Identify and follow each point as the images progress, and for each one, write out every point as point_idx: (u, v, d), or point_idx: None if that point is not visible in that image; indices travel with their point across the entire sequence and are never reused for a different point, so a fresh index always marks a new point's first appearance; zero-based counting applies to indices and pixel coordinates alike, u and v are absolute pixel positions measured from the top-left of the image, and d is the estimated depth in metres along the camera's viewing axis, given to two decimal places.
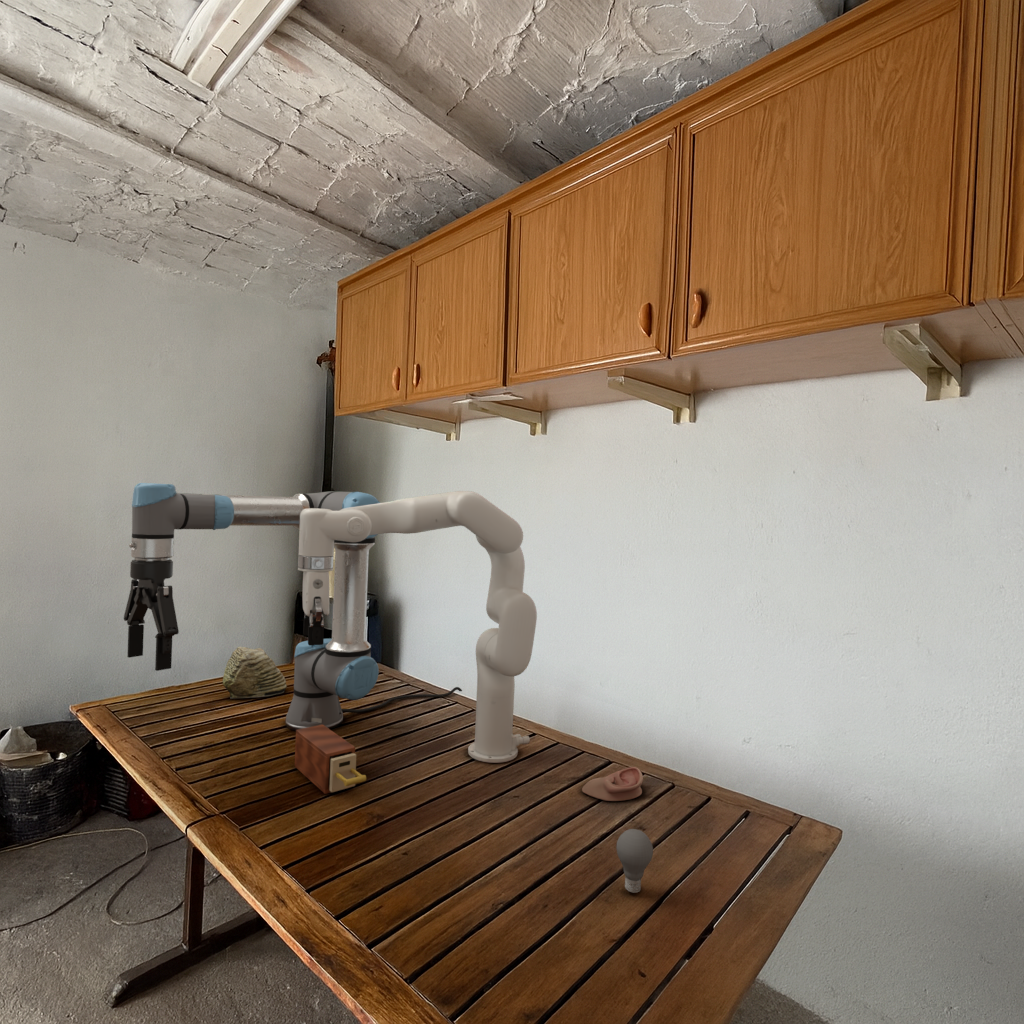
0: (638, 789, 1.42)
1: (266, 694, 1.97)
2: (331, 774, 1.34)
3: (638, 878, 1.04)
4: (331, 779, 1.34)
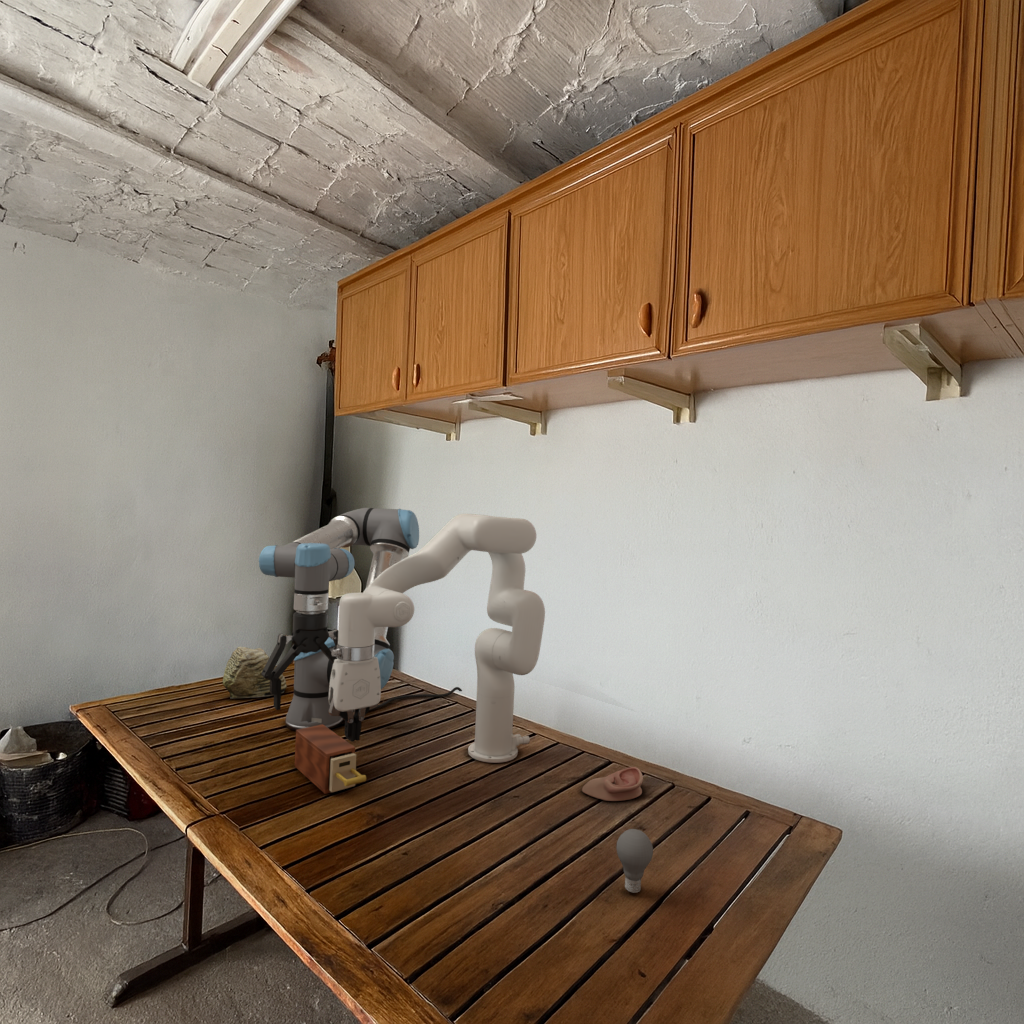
0: (638, 789, 1.42)
1: (266, 694, 1.97)
2: (331, 774, 1.34)
3: (638, 878, 1.04)
4: (331, 779, 1.34)
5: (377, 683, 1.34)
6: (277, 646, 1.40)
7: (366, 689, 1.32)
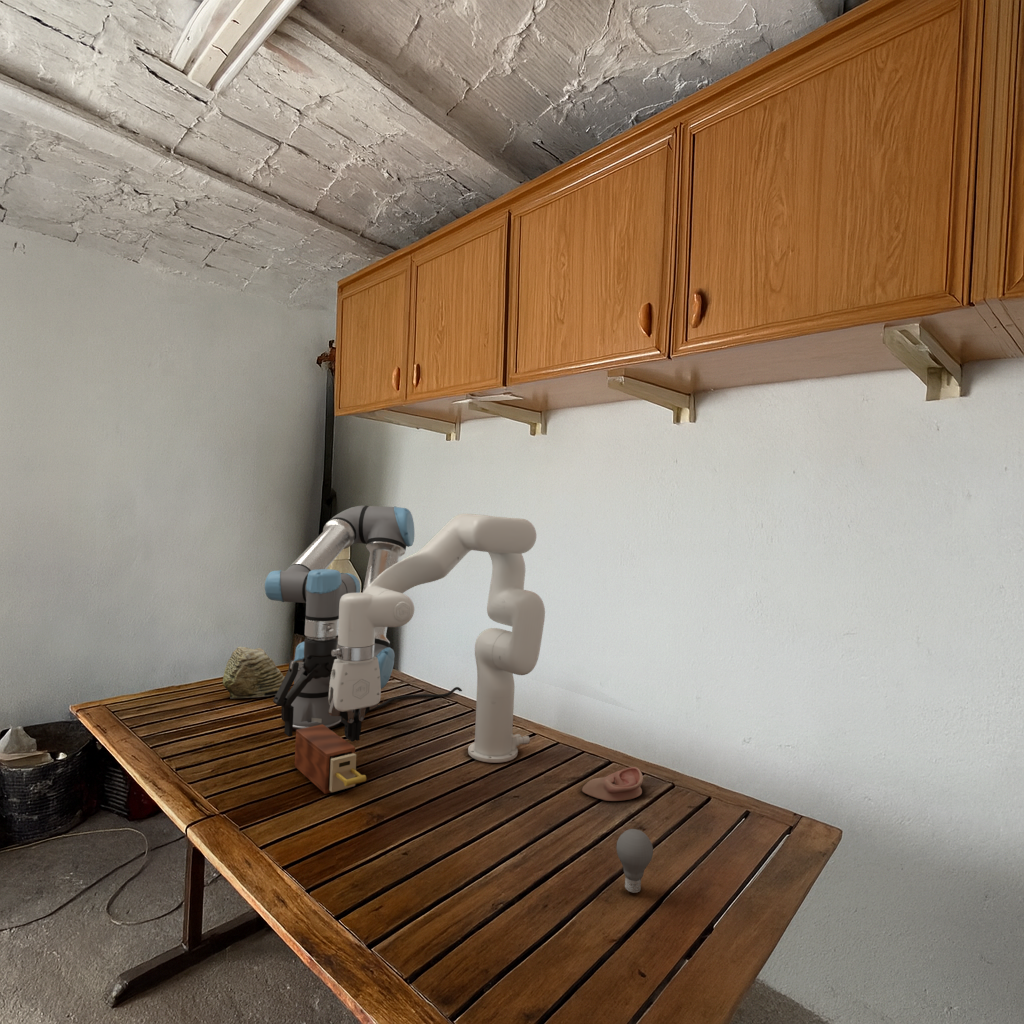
0: (638, 789, 1.42)
1: (266, 694, 1.97)
2: (331, 774, 1.34)
3: (638, 878, 1.04)
4: (331, 779, 1.34)
5: (377, 683, 1.34)
6: (289, 673, 1.41)
7: (366, 689, 1.32)
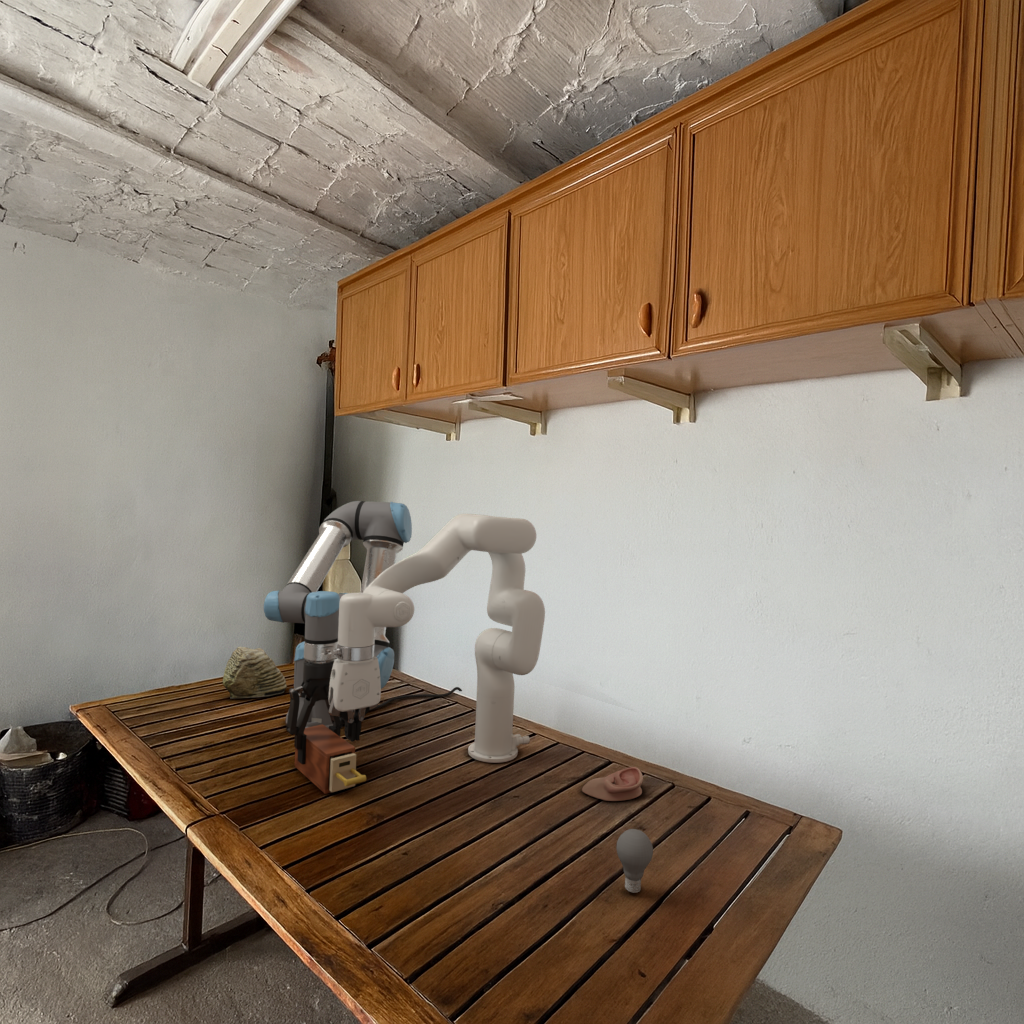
0: (638, 789, 1.42)
1: (266, 694, 1.97)
2: (331, 774, 1.34)
3: (638, 878, 1.04)
4: (331, 779, 1.34)
5: (377, 683, 1.34)
6: (292, 701, 1.42)
7: (366, 689, 1.32)
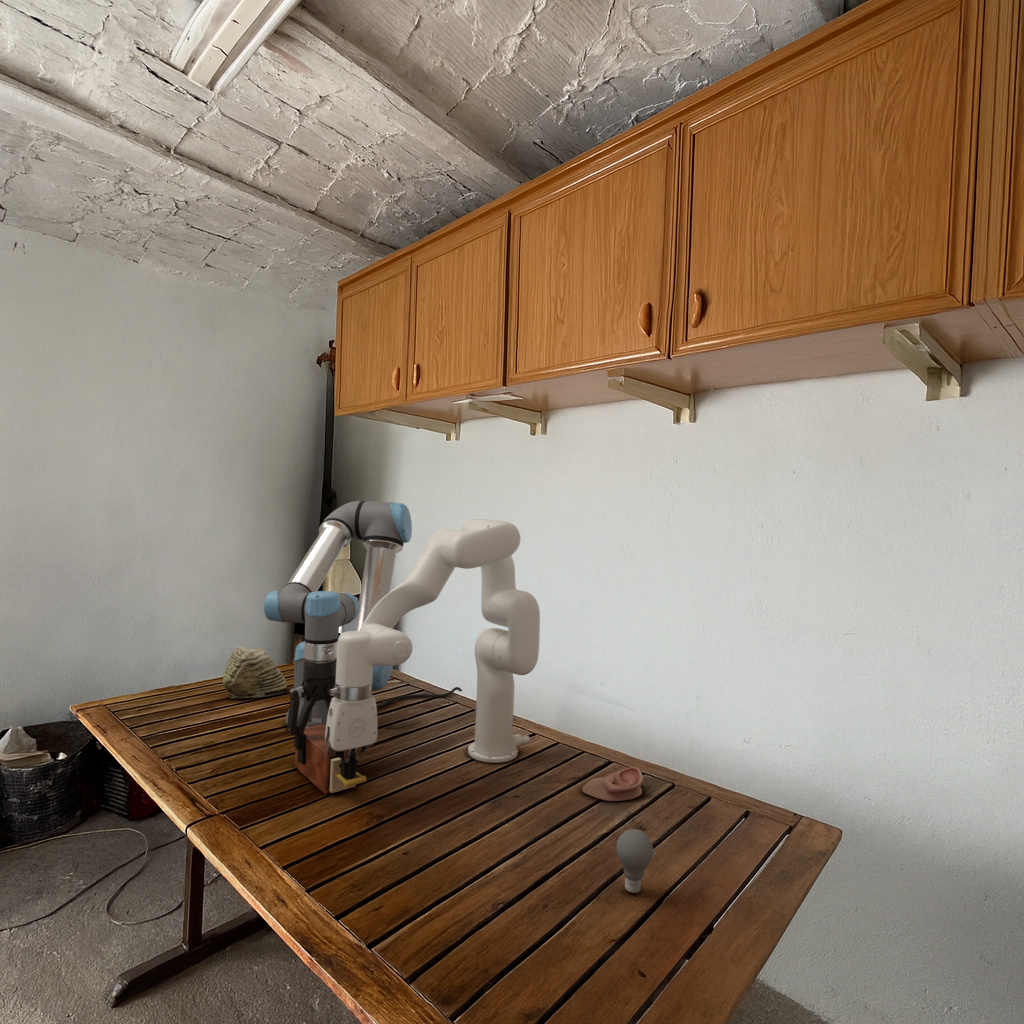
0: (638, 789, 1.42)
1: (266, 694, 1.97)
2: (331, 775, 1.34)
3: (638, 878, 1.04)
4: (331, 780, 1.34)
5: (374, 722, 1.33)
6: (292, 701, 1.42)
7: (363, 728, 1.32)
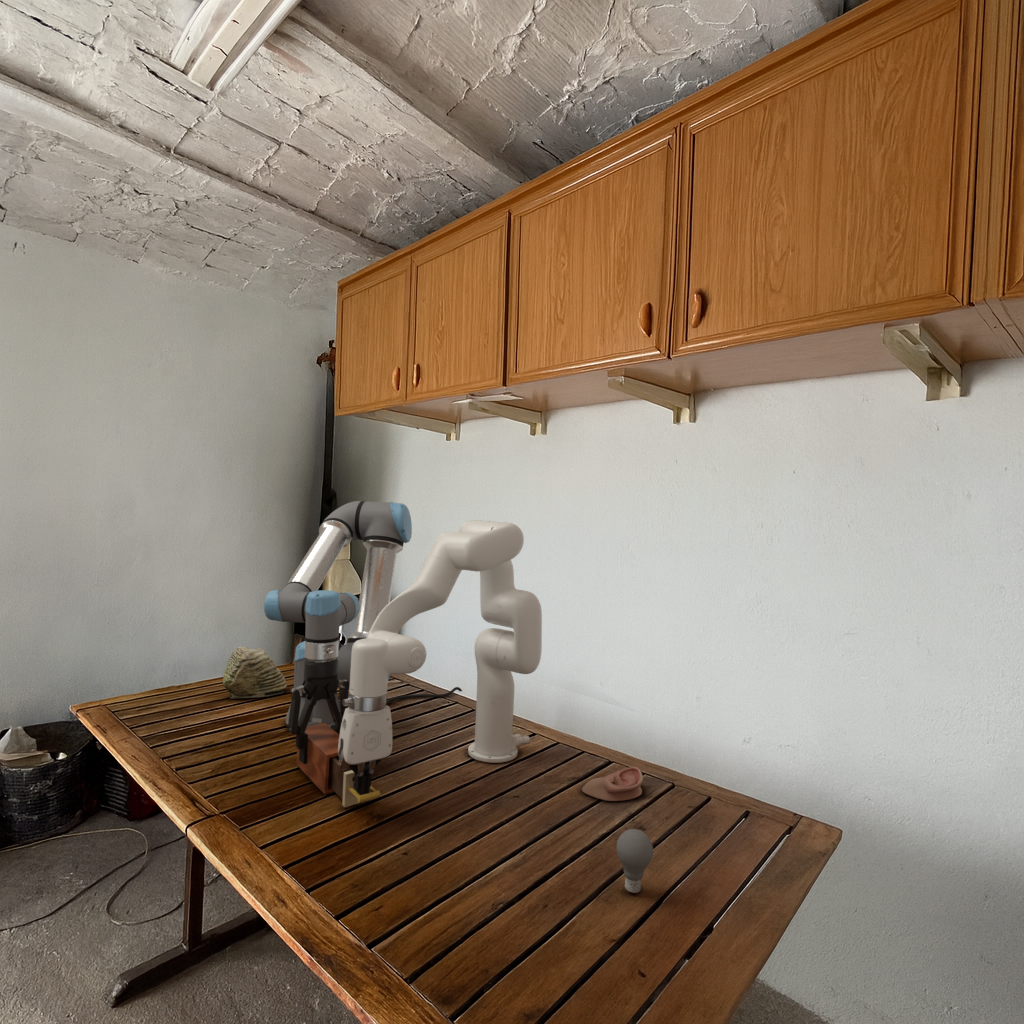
0: (638, 789, 1.42)
1: (266, 694, 1.97)
2: (344, 788, 1.29)
3: (638, 878, 1.04)
4: (344, 793, 1.29)
5: (389, 734, 1.28)
6: (293, 701, 1.42)
7: (377, 740, 1.26)
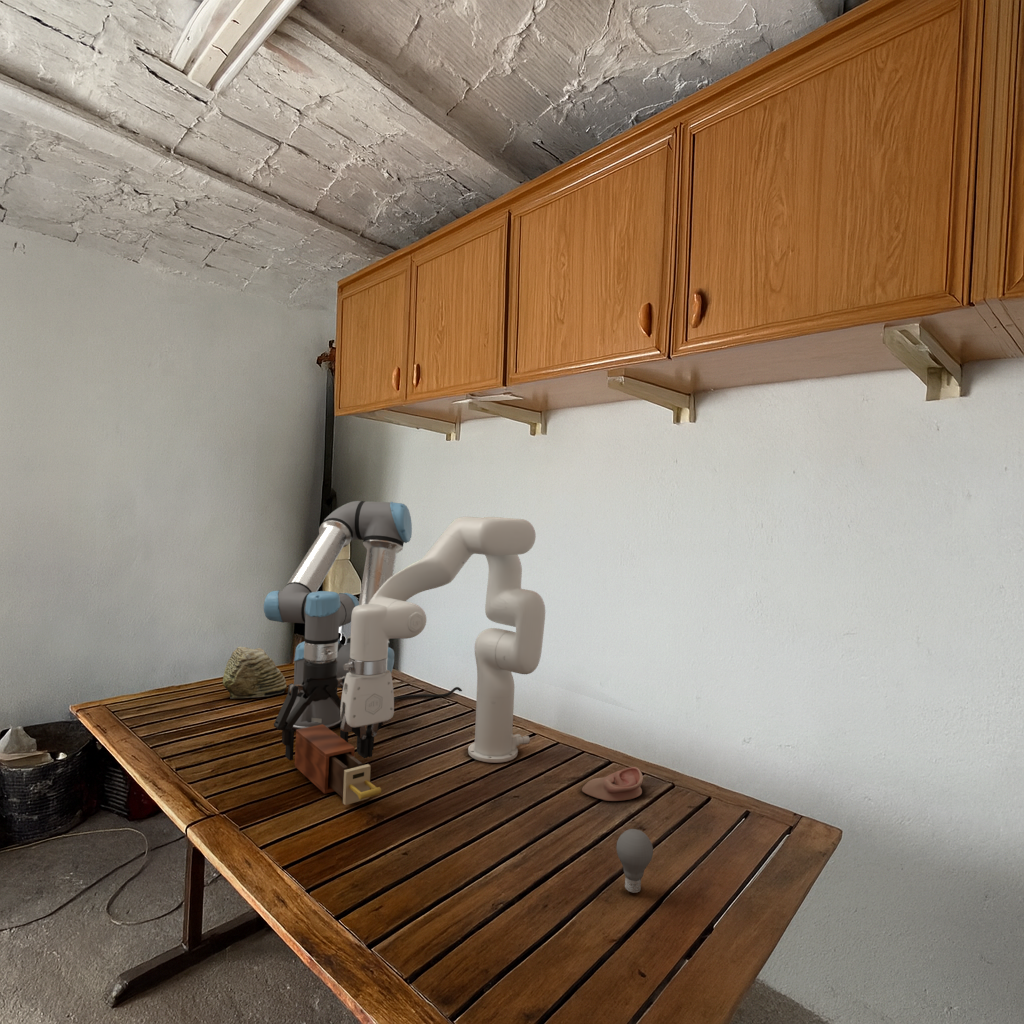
0: (638, 789, 1.42)
1: (266, 694, 1.97)
2: (344, 786, 1.29)
3: (638, 878, 1.04)
4: (344, 791, 1.29)
5: (390, 697, 1.29)
6: (289, 696, 1.41)
7: (379, 704, 1.27)
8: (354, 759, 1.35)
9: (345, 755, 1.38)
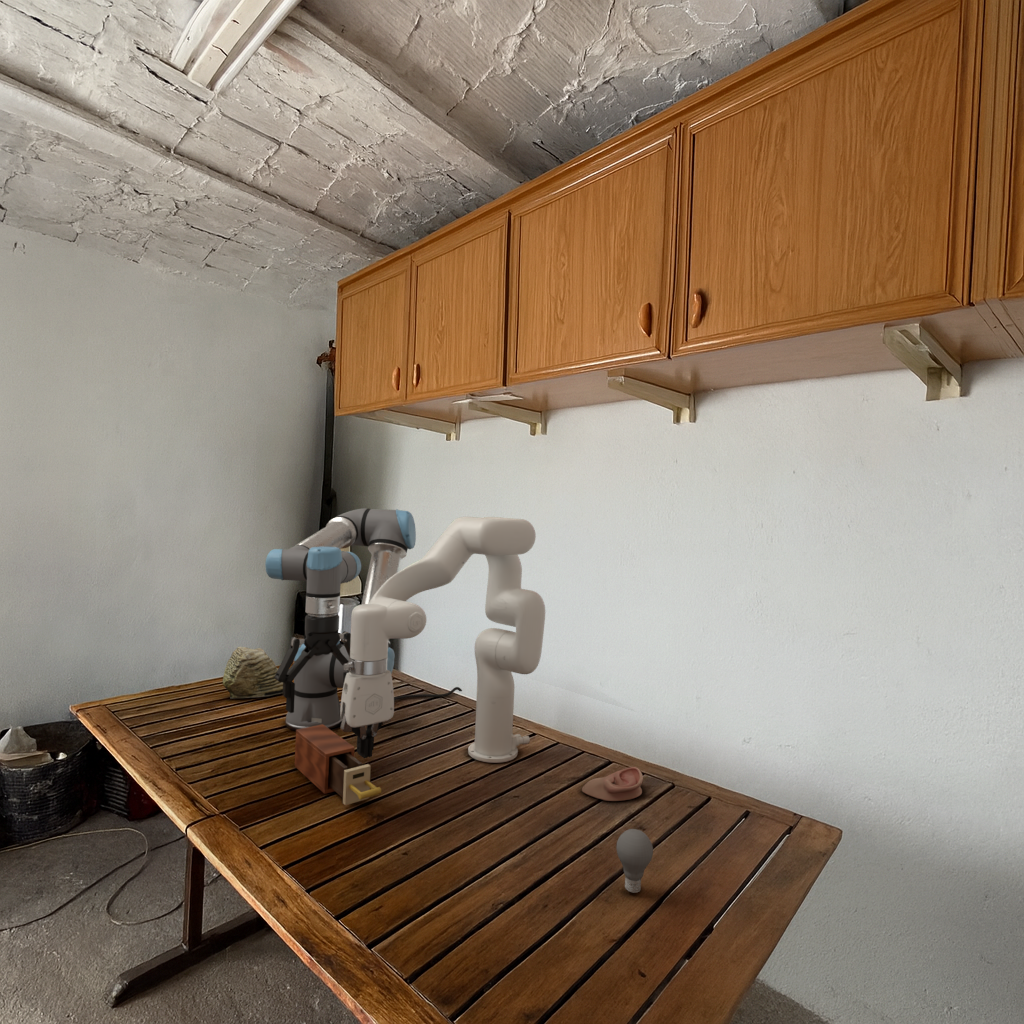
0: (638, 789, 1.42)
1: (266, 694, 1.97)
2: (344, 786, 1.29)
3: (638, 878, 1.04)
4: (344, 791, 1.29)
5: (390, 697, 1.29)
6: (290, 649, 1.41)
7: (379, 704, 1.27)
8: (354, 759, 1.35)
9: (345, 755, 1.38)
